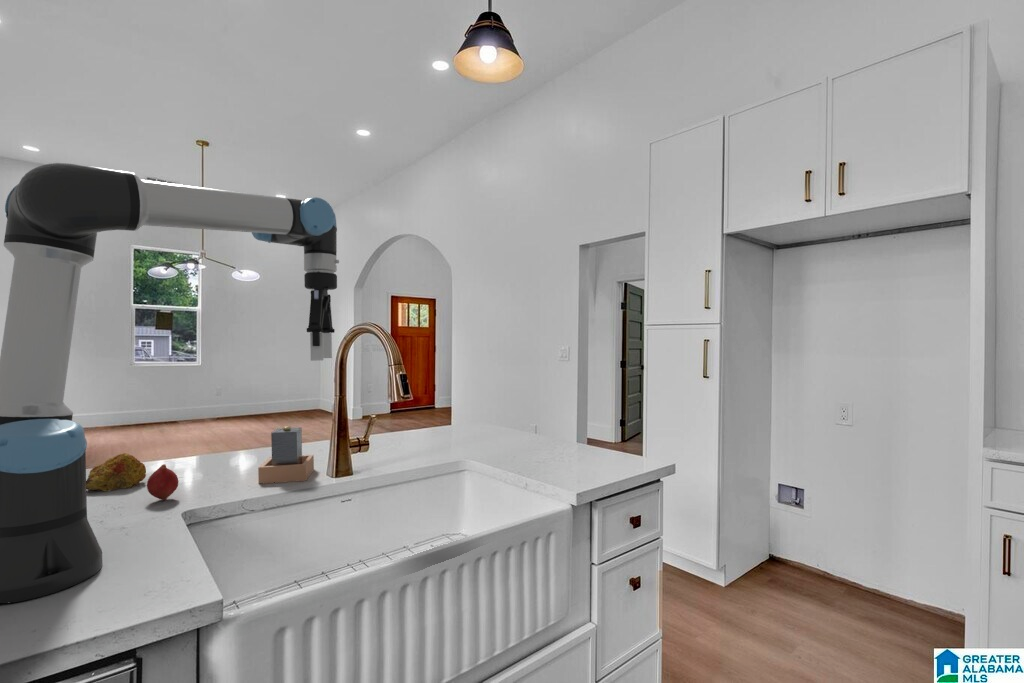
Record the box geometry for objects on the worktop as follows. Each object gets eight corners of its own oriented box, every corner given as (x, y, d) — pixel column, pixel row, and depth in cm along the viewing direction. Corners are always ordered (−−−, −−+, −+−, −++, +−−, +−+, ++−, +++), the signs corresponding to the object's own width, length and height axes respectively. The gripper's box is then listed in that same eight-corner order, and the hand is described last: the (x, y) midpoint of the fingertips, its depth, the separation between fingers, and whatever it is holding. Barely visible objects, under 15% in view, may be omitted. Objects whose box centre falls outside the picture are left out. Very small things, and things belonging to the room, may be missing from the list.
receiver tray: (305, 480, 129) (305, 464, 129) (258, 483, 127) (258, 467, 127) (313, 469, 140) (313, 454, 140) (270, 472, 138) (270, 457, 137)
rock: (111, 509, 121) (73, 483, 119) (115, 505, 128) (79, 480, 125) (152, 471, 127) (117, 444, 124) (154, 469, 134) (120, 444, 131)
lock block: (297, 474, 131) (296, 428, 131) (272, 476, 130) (271, 429, 129) (302, 468, 137) (301, 424, 137) (278, 470, 136) (277, 425, 135)
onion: (142, 505, 111) (141, 468, 111) (153, 497, 117) (153, 462, 117) (173, 502, 113) (172, 466, 113) (182, 495, 118) (182, 460, 118)
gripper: (329, 266, 115) (330, 361, 115) (343, 278, 140) (343, 356, 140) (293, 265, 114) (294, 361, 114) (313, 278, 138) (314, 357, 138)
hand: (321, 359), depth 127 cm, fingers open, 13 cm apart
